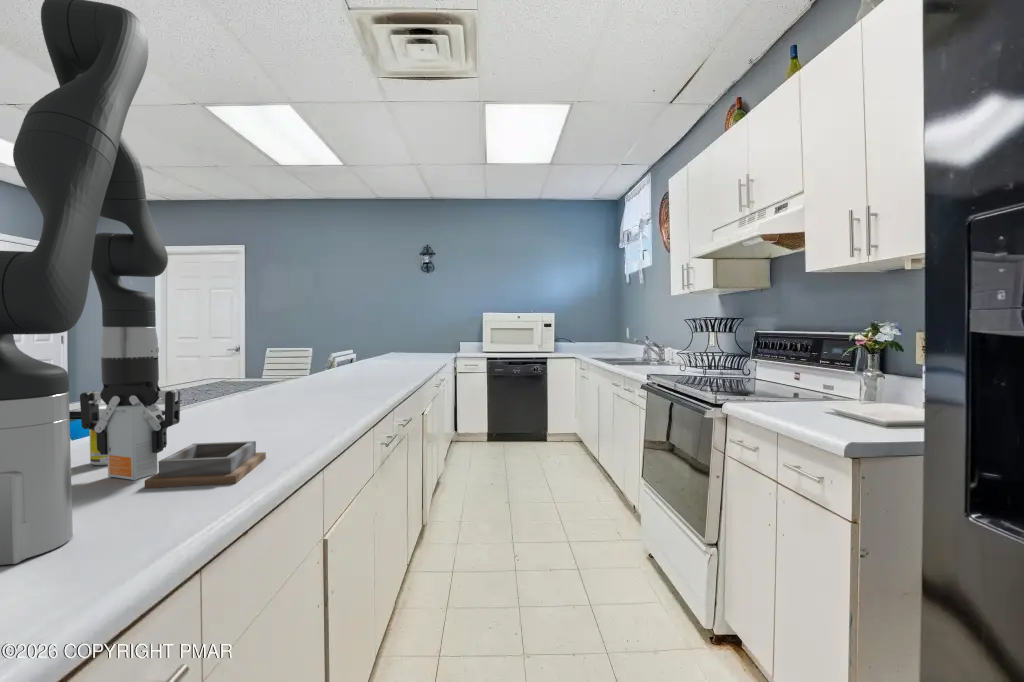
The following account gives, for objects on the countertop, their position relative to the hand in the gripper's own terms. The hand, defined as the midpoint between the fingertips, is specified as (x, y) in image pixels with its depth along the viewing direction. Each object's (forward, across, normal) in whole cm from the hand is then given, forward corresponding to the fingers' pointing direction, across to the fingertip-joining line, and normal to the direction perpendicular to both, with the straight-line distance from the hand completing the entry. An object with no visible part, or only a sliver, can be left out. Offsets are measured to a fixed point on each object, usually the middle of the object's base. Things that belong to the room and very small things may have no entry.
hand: (132, 452), depth 82 cm
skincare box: (+4, 0, 0) cm, 4 cm away
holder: (+4, +12, 0) cm, 13 cm away
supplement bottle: (+4, -9, +10) cm, 14 cm away
